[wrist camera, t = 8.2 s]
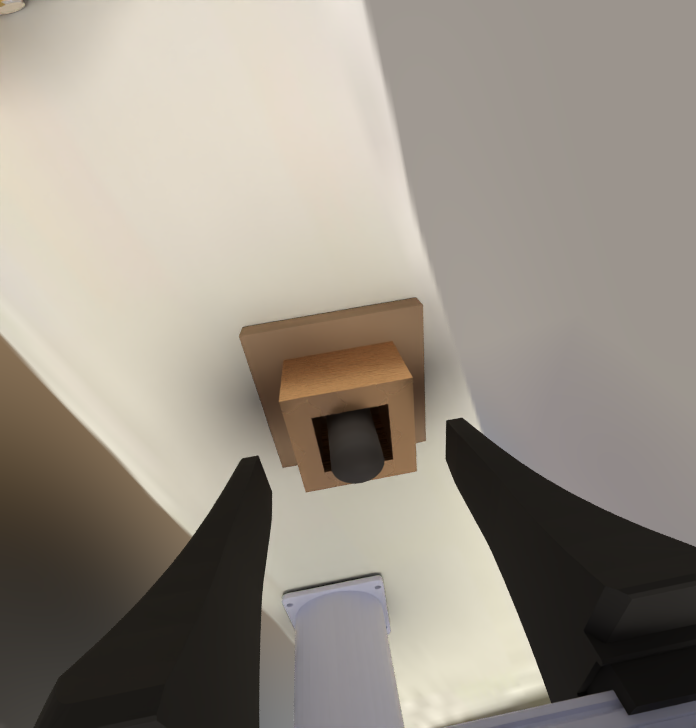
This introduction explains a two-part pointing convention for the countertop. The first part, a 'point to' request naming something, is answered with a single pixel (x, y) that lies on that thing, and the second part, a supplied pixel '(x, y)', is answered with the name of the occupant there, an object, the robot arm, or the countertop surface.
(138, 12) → the countertop surface
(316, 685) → the robot arm
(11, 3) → the ring
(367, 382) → the collar
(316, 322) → the peg board
